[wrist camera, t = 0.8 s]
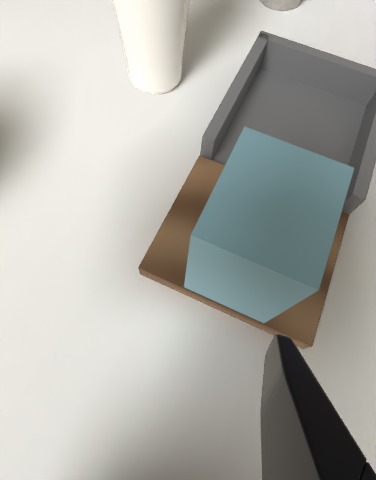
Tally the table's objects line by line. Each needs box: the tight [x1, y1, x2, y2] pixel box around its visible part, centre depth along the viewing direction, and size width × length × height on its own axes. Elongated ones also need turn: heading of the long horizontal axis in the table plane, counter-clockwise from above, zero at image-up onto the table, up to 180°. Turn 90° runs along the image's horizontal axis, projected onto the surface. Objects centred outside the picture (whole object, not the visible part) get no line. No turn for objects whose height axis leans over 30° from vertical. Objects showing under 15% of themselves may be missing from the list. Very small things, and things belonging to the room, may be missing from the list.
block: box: [184, 126, 354, 323], centre depth 20 cm, size 7×6×9 cm
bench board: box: [139, 156, 349, 349], centre depth 25 cm, size 11×13×2 cm
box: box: [200, 31, 376, 215], centre depth 29 cm, size 14×13×4 cm
